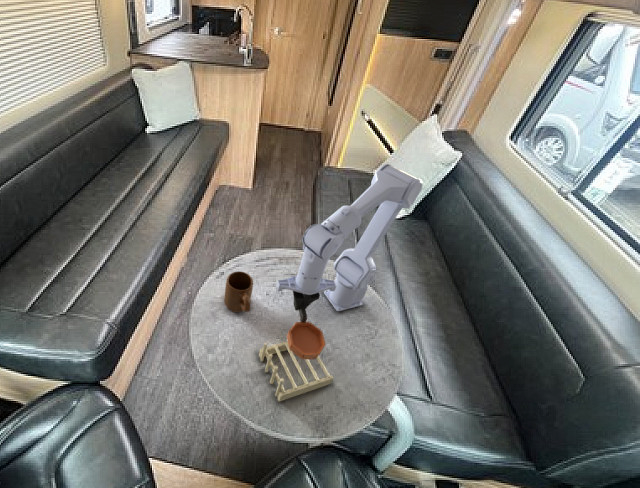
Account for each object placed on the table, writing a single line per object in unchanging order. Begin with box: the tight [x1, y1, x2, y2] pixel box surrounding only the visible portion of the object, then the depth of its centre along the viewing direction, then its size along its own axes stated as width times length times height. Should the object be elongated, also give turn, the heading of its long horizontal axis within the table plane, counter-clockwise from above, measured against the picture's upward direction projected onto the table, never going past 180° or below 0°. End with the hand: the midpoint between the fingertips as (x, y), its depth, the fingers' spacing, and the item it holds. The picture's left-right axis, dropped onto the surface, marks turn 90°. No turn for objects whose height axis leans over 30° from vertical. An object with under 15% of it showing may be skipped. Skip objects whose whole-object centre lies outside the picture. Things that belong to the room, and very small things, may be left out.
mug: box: [223, 271, 254, 313], centre depth 90 cm, size 12×8×9 cm, turn 17°
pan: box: [286, 301, 326, 360], centre depth 80 cm, size 16×9×4 cm, turn 5°
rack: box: [258, 340, 334, 403], centre depth 78 cm, size 14×12×7 cm
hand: (299, 307), depth 84 cm, fingers closed on pan
